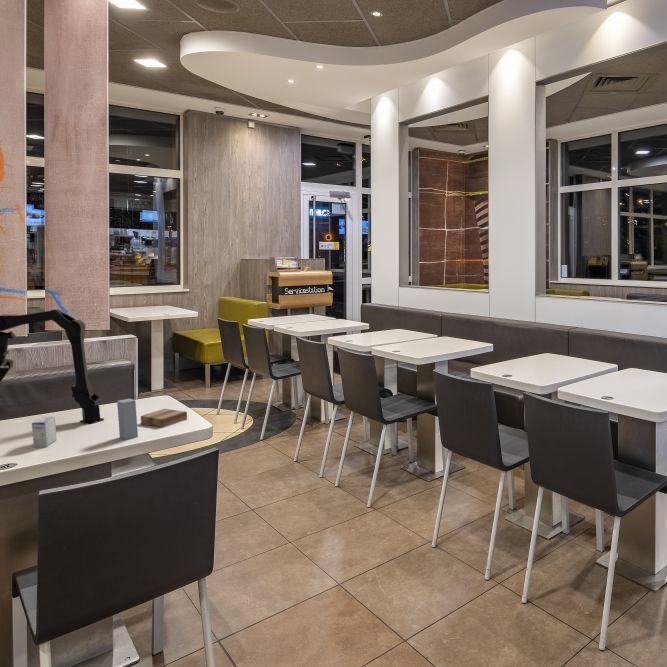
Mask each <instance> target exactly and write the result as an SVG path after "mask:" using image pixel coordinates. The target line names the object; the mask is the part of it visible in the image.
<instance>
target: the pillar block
mask: <svg viewBox="0 0 667 667" xmlns="http://www.w3.org/2000/svg"><path fill="white" fill-rule="evenodd" d="M116 402H117V403H116V404H117V417H118V418H117V419H118V429H119V430H118V431H119V438H121V439H123V440H125V441H127V440H130V439H134V438H138V437H139V433H138V417H137V407H136V406H137V404H136V399H132V398H126V399H120V400H117V401H116Z"/></svg>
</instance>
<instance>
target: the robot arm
mask: <svg viewBox="0 0 667 667" xmlns="http://www.w3.org/2000/svg"><path fill="white" fill-rule="evenodd" d="M49 321H53V322H54V323H55V324H56V325H58V326H59V327H60V328H62V329H64V331H65V335H66V338H67V339H68V341H69V343H70V345H71V351H72V352H71V353H72V359H73V360H72V361H73V367H74V368H73V369H74V374H75V383H74V384H73V385H72V386H71V387H70V388H71V392H72V395H71V396H72V398H73V399H74V401H75V402H76V403H78V405H79V406H80V408H81V413H82V414H81V415H82V420H79V423H82V422H83V424H88V425H89V424H94V423H97V422H101V421H104V420H105V418H102V417H101V412H100V411H101V408H100V405H99V403H101V398H102V397H100V396H99V395H98V394H96V393H95V392H94V387H93V385H92V384H93V383H91V380H90V379H89V376H88V374H89V373H88V366H87V358H86V352H85V346H84V345H85V343H84V342H85V336H86V324H85V322H84V321H83V320H80V319H75V318H74V317H72V316H70V315H69V314H67V313H64V312H63V311H61V310H60V309H57V308H54V309H51V310H47V311H40V312H33V313H27V314H1V315H0V384H1V383H2V381H3V380H4V379H5V377H6V376H7V374H8V373H9V372H10V371H11V369H12V368H13V367H14V363H15V362H14V360H12V359H9V358H6V357H7V355H8V354H10V353H9V352H10V351H9V350H8V348H9V342H10V340H12V339H16V338H17V336H16V335H15V334H14V332H13V331H11V329H14V328H17V327H20V326H22V325H29V324H35V323H43V322H49ZM6 330H7V331H8V330H10V331H8V332H6ZM4 331H5V332H4Z"/></svg>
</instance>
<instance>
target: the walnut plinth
mask: <svg viewBox="0 0 667 667" xmlns="http://www.w3.org/2000/svg"><path fill="white" fill-rule="evenodd" d="M187 420H188V412H187V411H185V410H184V411H183V410H178V409H177V410H176V409H170V408H163V409H159V410H156V411H152V412H149V413H146V414H142V415H140V424H141V425H148V426H153V427H160V428H167V427H168V426H171V425H174V424H178V423H181V422H183V421H187Z"/></svg>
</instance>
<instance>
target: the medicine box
mask: <svg viewBox="0 0 667 667" xmlns="http://www.w3.org/2000/svg"><path fill="white" fill-rule="evenodd" d="M56 428H57V427H56V417H55V416H50V415H49V416H41V417H40V418H37V419H36V420H35V421H33V422H32V423H31V431H32V441H33V442H32V444H33V448H36V449H37V448H39V449H40V448H47V447H49V446H51V444H53V443H54V442H56V441H57V429H56Z"/></svg>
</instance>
